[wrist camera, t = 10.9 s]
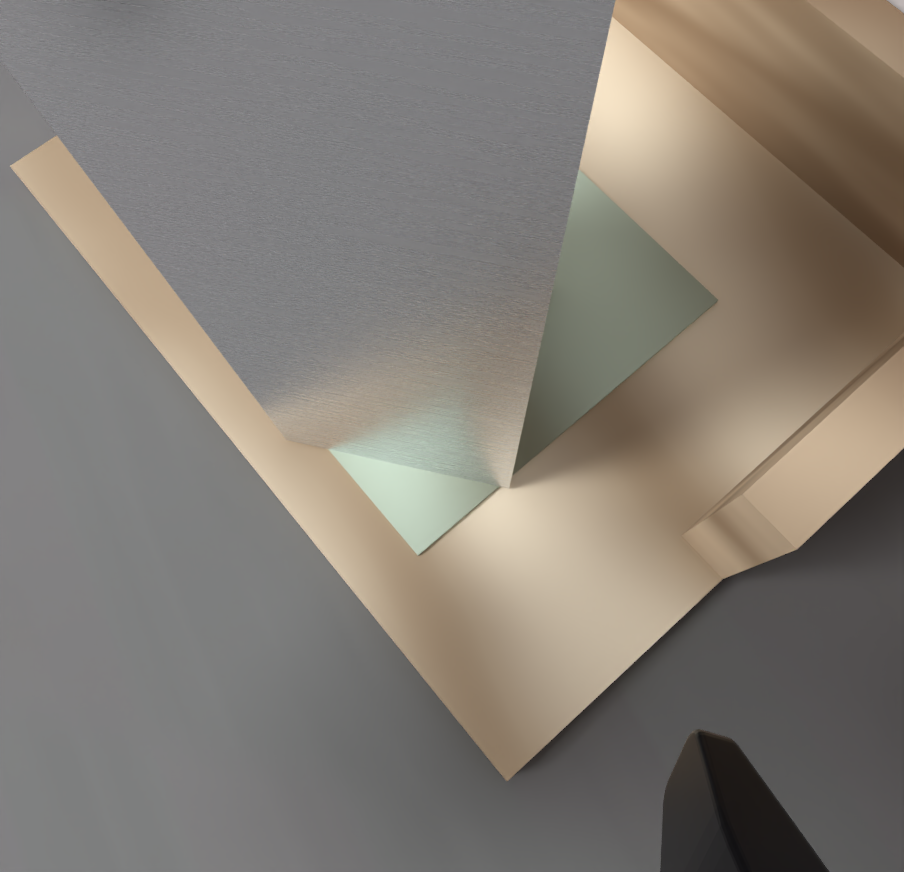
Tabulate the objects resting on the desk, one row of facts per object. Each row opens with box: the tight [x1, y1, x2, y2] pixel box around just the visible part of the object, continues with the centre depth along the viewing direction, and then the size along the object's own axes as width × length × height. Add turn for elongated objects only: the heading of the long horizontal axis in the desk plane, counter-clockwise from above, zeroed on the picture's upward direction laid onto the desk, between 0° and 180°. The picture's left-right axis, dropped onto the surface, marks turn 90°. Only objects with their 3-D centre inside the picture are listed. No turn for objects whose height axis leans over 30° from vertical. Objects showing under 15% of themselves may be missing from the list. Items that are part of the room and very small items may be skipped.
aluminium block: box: [0, 0, 615, 489], centre depth 12 cm, size 5×5×13 cm
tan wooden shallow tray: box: [10, 0, 904, 781], centre depth 17 cm, size 16×19×4 cm
